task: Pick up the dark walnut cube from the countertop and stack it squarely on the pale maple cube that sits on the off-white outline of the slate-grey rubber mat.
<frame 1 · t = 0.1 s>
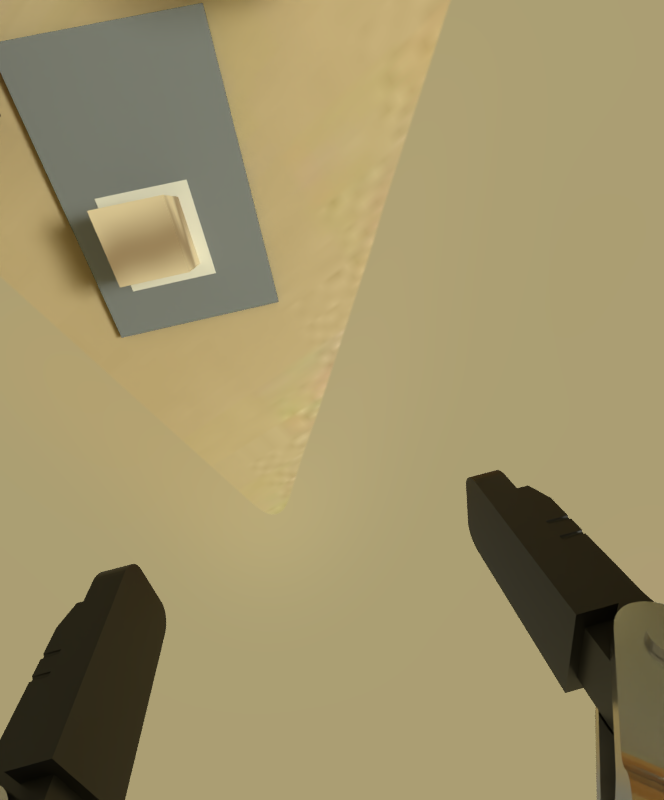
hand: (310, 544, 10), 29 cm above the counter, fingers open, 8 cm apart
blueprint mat: (158, 193, 31), on the counter
maple block: (158, 238, 31), point 1 cm above the counter, touching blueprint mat
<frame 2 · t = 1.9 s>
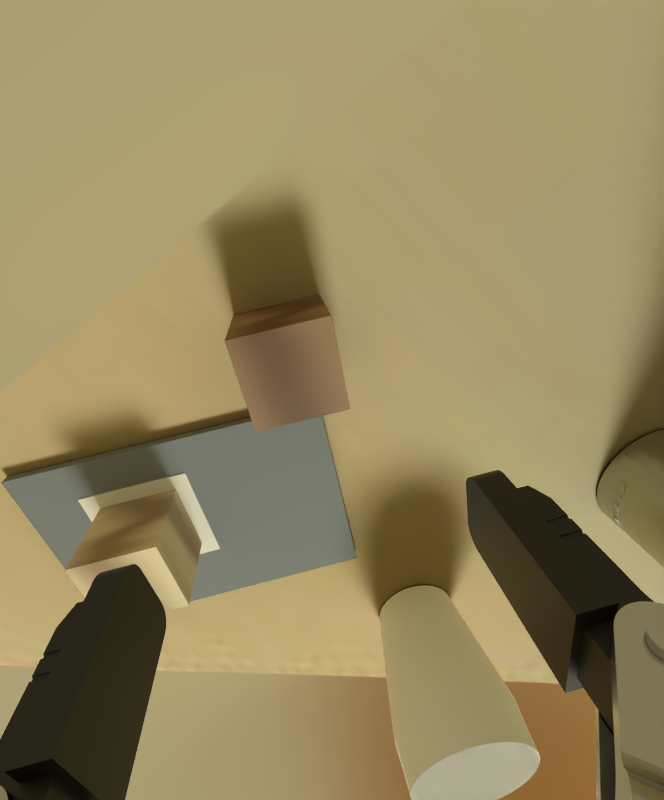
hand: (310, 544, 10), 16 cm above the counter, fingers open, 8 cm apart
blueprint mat: (203, 519, 28), on the counter
cup: (413, 607, 36), on the counter
maple block: (153, 526, 27), point 1 cm above the counter, touching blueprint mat
walnut block: (287, 345, 24), on the counter
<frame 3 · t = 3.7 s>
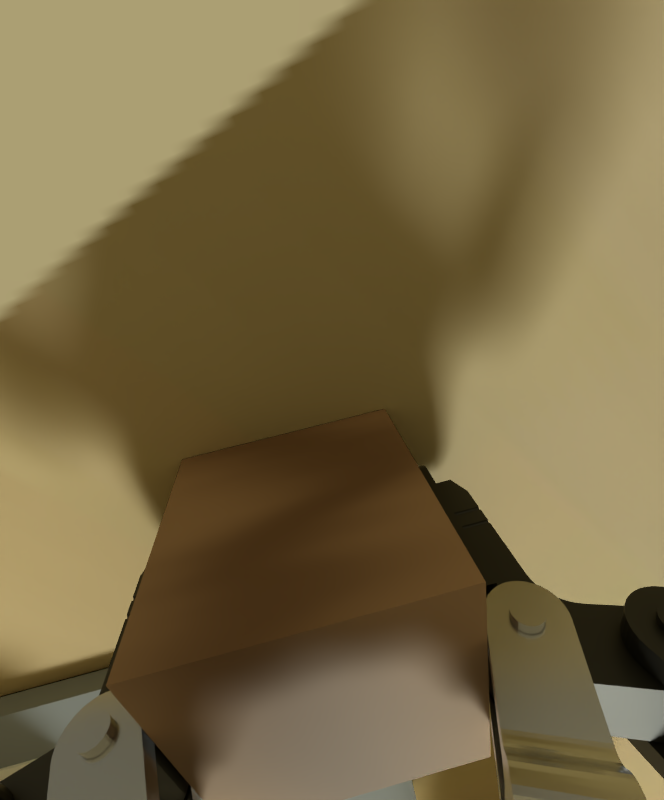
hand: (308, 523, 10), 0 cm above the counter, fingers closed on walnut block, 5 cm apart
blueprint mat: (145, 781, 15), on the counter
walnut block: (307, 510, 11), on the counter, touching gripper
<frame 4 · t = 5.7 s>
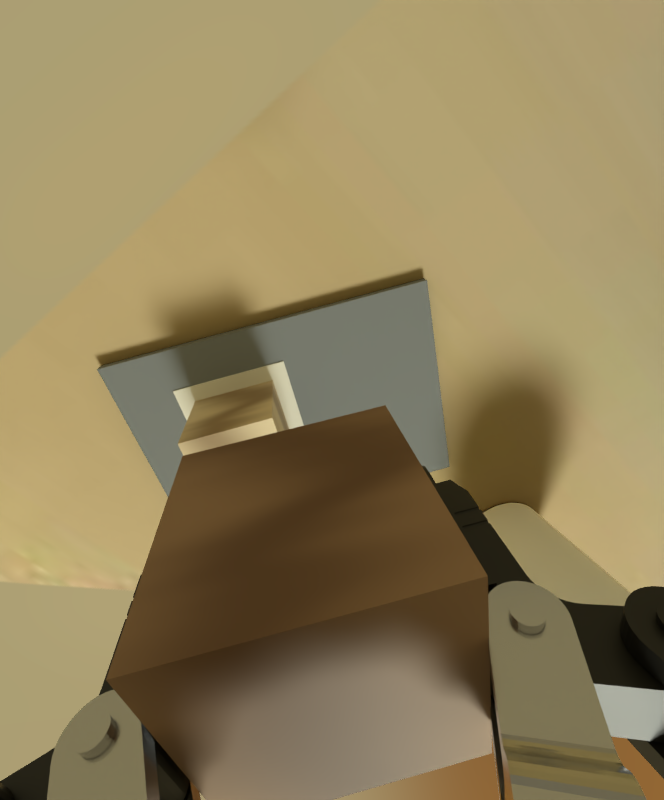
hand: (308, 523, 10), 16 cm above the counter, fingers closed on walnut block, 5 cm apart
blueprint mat: (295, 419, 27), on the counter
cup: (499, 529, 34), on the counter
maple block: (247, 424, 26), point 1 cm above the counter, touching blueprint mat
walnut block: (308, 507, 11), point 15 cm above the counter, touching gripper
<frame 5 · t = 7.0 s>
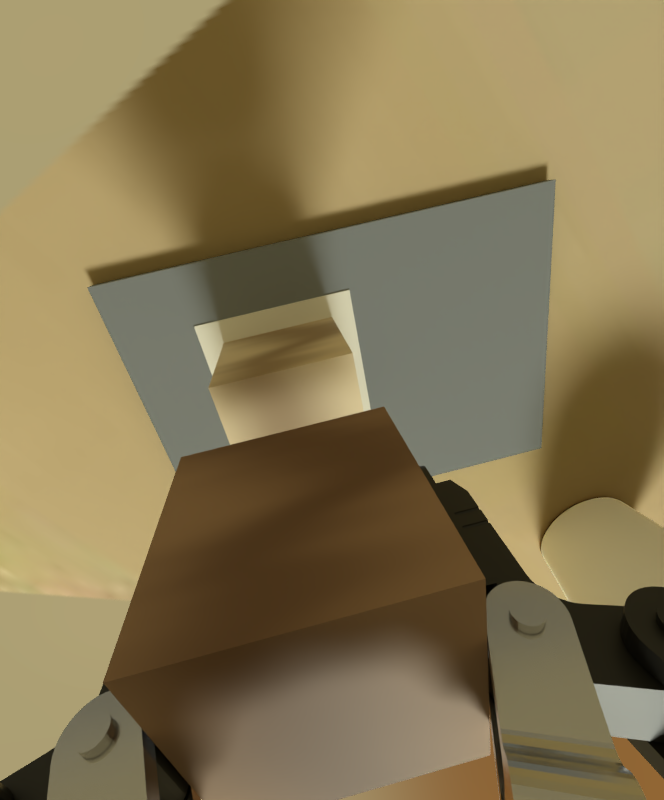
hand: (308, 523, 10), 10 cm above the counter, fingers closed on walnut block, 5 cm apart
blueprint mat: (353, 377, 20), on the counter
cup: (582, 530, 28), on the counter
maple block: (291, 379, 19), point 1 cm above the counter, touching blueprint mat
walnut block: (307, 508, 11), point 10 cm above the counter, touching gripper
when the fingers open (7 cm above the counter, at t = 8.0 s): walnut block stays where it is, resting on maple block.
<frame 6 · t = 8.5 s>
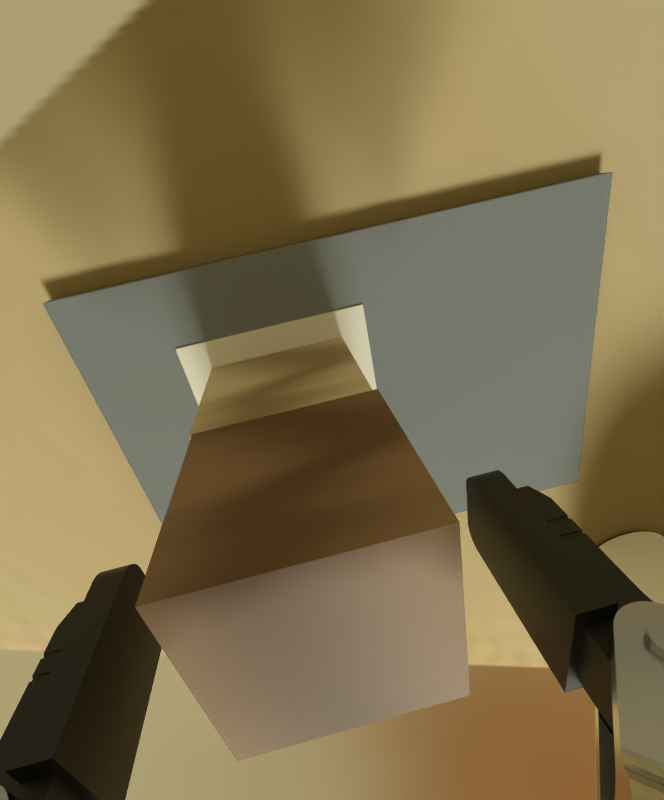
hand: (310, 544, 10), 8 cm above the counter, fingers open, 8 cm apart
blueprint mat: (365, 405, 17), on the counter
cup: (615, 566, 25), on the counter
maple block: (293, 409, 16), point 1 cm above the counter, touching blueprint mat, walnut block
walnut block: (306, 484, 12), point 6 cm above the counter, touching maple block
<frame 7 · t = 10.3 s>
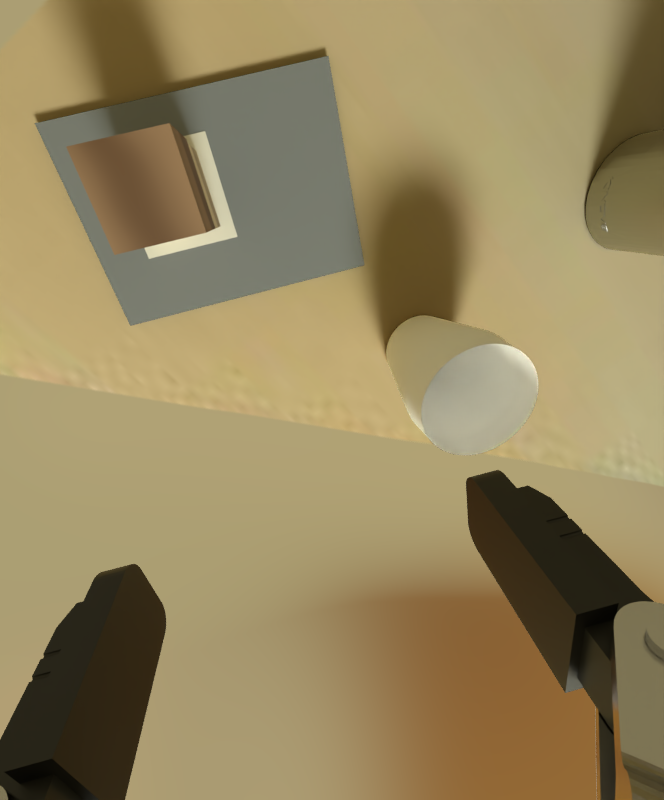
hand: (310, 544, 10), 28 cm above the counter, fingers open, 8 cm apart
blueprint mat: (220, 203, 30), on the counter
cup: (418, 348, 38), on the counter
maple block: (175, 198, 29), point 1 cm above the counter, touching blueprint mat, walnut block
walnut block: (162, 195, 24), point 6 cm above the counter, touching maple block
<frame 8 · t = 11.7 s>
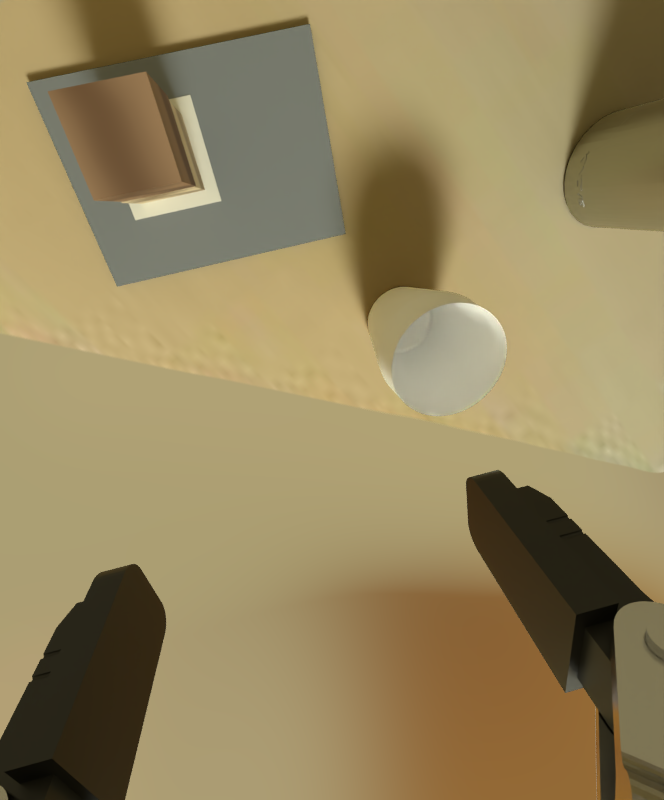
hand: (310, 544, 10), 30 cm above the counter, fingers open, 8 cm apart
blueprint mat: (205, 167, 31), on the counter
cup: (399, 320, 39), on the counter
maple block: (161, 160, 30), point 1 cm above the counter, touching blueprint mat, walnut block
walnut block: (144, 151, 26), point 6 cm above the counter, touching maple block
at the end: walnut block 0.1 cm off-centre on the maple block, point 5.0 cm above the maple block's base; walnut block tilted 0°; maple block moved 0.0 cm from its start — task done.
